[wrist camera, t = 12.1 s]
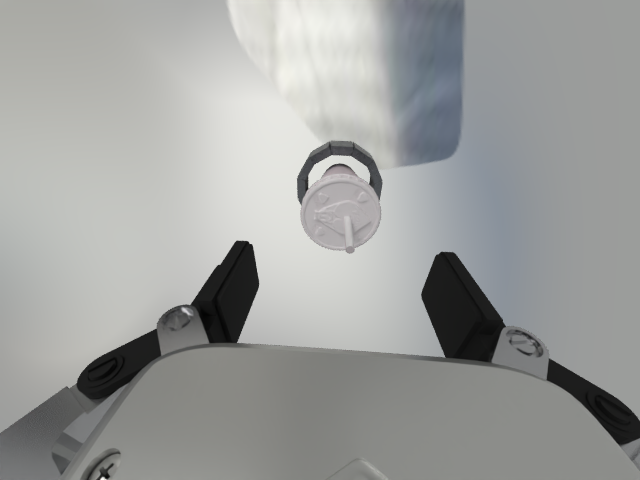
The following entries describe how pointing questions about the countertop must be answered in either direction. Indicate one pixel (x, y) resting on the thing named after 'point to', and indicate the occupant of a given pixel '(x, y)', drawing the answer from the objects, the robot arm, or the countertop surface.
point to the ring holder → (338, 149)
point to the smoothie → (340, 210)
